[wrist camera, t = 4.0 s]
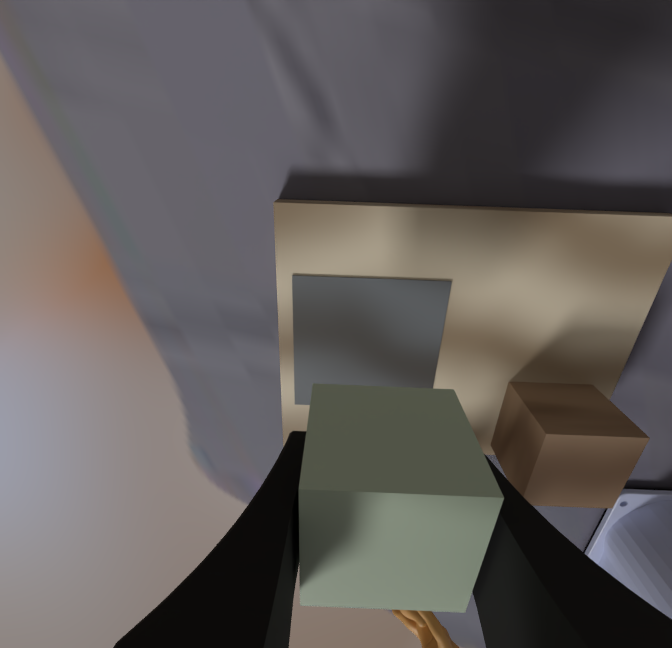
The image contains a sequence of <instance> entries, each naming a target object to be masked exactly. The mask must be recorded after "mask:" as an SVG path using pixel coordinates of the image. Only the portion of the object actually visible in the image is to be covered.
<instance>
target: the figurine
mask: <svg viewBox="0 0 672 648" xmlns="http://www.w3.org/2000/svg"><path fill="white" fill-rule="evenodd" d="M392 612H393V614H394V615H395V616H396V617H397V618H398V619H400V620H401V621H402V622H403V623H404V624H405V626H406V627H407V628H408V629H409V630H410V631H412V632H413V633H414V634H415V635H416V636H417V637H418V638H419V640H420V641H421V644H422V648H459V647H458V646H457V645H456V644H455V643H454V642H453V641H452V640H451V638H450V636H449V634H448V632H447V630H446V629H445V628H444V627H443V626H442V625H441V624H440V622H439V621H438V620H437V618H436V617H435V615H434V614H433V613H432V611H416V610H393V609H392Z"/></svg>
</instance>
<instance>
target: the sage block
mask: <svg viewBox="0 0 672 648" xmlns="http://www.w3.org/2000/svg"><path fill="white" fill-rule="evenodd" d="M503 500H504V496H503V494H502V492H501V490H500V488H499V486H498V483H497V481H496V479H495V477H494V475H493V473H492V471H491V468H490V466H489V464H488V462H487V460H486V458H485V455H484V453H483V451H482V449H481V447H480V445H479V443H478V440H477V438H476V436H475V434H474V432H473V430H472V427H471V425H470V423H469V421H468V419H467V417H466V414H465V412H464V410H463V408H462V406H461V404H460V402H459V399H458V397H457V395H456V393H455V391H454V389H434V388H410V387H386V386H362V385H338V384H314V383H313V386H312V393H311V401H310V408H309V416H308V423H307V430H306V438H305V445H304V453H303V460H302V468H301V475H300V482H299V563H300V564H299V565H300V605H301V606H326V607H347V608H371V609H372V608H373V609H393V610H416V611H439V612H463V613H465V611H466V608H467V605H468V602H469V599H470V597H471V594H472V591H473V588H474V585H475V582H476V579H477V576H478V573H479V570H480V567H481V564H482V561H483V559H484V556H485V553H486V550H487V547H488V544H489V541H490V538H491V535H492V532H493V529H494V526H495V523H496V520H497V518H498V515H499V512H500V509H501V506H502V503H503Z"/></svg>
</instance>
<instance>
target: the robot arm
mask: <svg viewBox="0 0 672 648" xmlns="http://www.w3.org/2000/svg"><path fill="white" fill-rule="evenodd" d="M305 438H306V431H292V432H291V433H290V434H289V436H288V439H287V441H286V443H285V445H284V447H283V449H282V451H281V453H280V455H279V457H278V459H277V461H276V463H275V464H274V466H273V468H272V469H271V471H270V473H269V474H268V476H267V478H266V479H265V481H264V483H263V484H262V486H261V487H260V489H259V490H258V492H257V493H256V495H255V496H254V497H253V499H252V500H251V502H250V503H249V505H248V506H247V508H246V509H245V510H244V512H243V513H242V514H241V516H240V517H239V518H238V520H237V521H236V523H235V524H234V525H233V526H232V527H231V528H230V530H229V531H228V532H227V534H226V535H225V536H224V537H223V538H222V539H221V541H220V542H219V543H218V544H217V546H216V547H215V548H214V549H213V550H212V551H211V552H210V553H209V554H208V556H207V557H206V558H205V559H204V560H203V561H202V562H201V563H200V564H199V565H198V566H197V568H196V569H195V570H194V571H193V572H192V573H191V574H190V575H189V576H188V577H187V578H186V579H185V580H184V581H183V582H182V583H181V584H180V585H179V586H178V587H177V588H176V589H175V590H174V591H173V592H172V593H171V594H170V595H169V596H168V597H167V598H166V599H165V600H163V601H162V602H161V603H160V604H159V605H158V606H157V607H156V608H155V609H154V610H153V611H152V612H151V613H149V614H148V615H147V616H146V617H145V618H144V619H143V620H141V621H140V622H139V623H138V624H137V625H136V626H135V627H134V628H133V629H131V630H130V631H129V632H128V633H127V634H126V635H125V636H123V637H122V638H121V639H120V640H119V641H118V642H117V643H116V644H115V646H114V647H113V648H288V646H289V637H290V626H291V616H292V607H293V597H294V590H295V583H296V577H297V572H298V566H299V482H300V475H301V468H302V460H303V453H304V445H305ZM484 455H485V454H484ZM485 458H486V460H487V462H488V464H489V466H490V468H491V471H492V473H493V475H494V477H495V479H496V481H497V483H498V486H499V488H500V490H501V492H502V494H503V496H504V500H503V503H502V506H501V509H500V512H499V515H498V518H497V520H496V523H495V526H494V529H493V532H492V535H491V538H490V541H489V544H488V547H487V550H486V553H485V556H484V559H483V561H482V564H481V567H480V570H479V573H478V576H477V579H476V582H475V585H474V588H473V591H472V592H473V595H474V599H475V602H476V606H477V610H478V614H479V618H480V623H481V627H482V631H483V636H484V640H485V644H486V648H672V491H666V490H640V489H623V490H622V491H621V493H620V495H619V497H618V499H617V501H616V503H615V505H614V506H613V508H608V509H607V511H606V513H605V515H604V517H603V519H602V521H601V523H600V525H599V526H598V528H597V530H596V532H595V534H594V536H593V538H592V540H591V542H590V544H589V546H588V547H587V549H586V551H585V553H583V552H582V551H581V550H580V549H579V548H577V547H576V546H575V545H574V544H573V543H572V542H570V541H569V540H568V539H567V538H566V537H565V536H564V535H562V534H561V533H560V532H559V531H558V530H557V529H556V528H555V527H554V526H553V525H551V524H550V523H549V522H548V521H547V520H546V519H545V518H544V517H543V516H542V515H541V514H540V513H539V512H538V511H537V510H536V509H535V508H534V507H533V506H532V505H531V504H530V503H529V502H528V501H527V500H526V499H525V498H524V497H523V496H522V495H521V494H520V493H519V492H518V491H517V490H516V488H515V487H514V486H513V485H512V484H511V483H510V482H509V481H508V480H507V479H506V478H505V477H504V475H503V474H502V473H501V472H500V471H499V470H498V469H497V468H496V467H495V465H494V464H493V463H492V462H491V461H490V460H489V459H488V457H487V456H486V455H485Z"/></svg>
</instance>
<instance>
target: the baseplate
mask: <svg viewBox="0 0 672 648" xmlns="http://www.w3.org/2000/svg"><path fill="white" fill-rule="evenodd" d="M274 227H275V252H276V276H277V301H278V326H279V350H280V375H281V399H282V424H283V447H284V445H285V443H286V441H287V439H288V436H289V434H290V433H291V432H292V431H306V430H307V423H308V416H309V408H310V401H311V393H312V386H313V383H314V384H338V385H362V386H386V387H410V388H434V389H454V391H455V393H456V395H457V397H458V399H459V402H460V404H461V406H462V408H463V410H464V412H465V414H466V417H467V419H468V421H469V423H470V425H471V427H472V430H473V432H474V434H475V436H476V438H477V440H478V443H479V445H480V447H481V449H482V451H483V453H484V454H487V455H495V453H494V451H493V449H492V447H491V441H492V438H493V434H494V431H495V427H496V424H497V420H498V417H499V413H500V410H501V406H502V403H503V399H504V396H505V392H506V389H507V385H508V382H509V381H510V382H536V383H562V384H589V385H594V386H595V387H596V388H597V389H598V390H599V391H600V392H601V393H602V394H603V395H604V396H605V397H606V398H607V399H609V400H610V398H611V396H612V393H613V391H614V389H615V387H616V384H617V382H618V380H619V378H620V375H621V373H622V371H623V369H624V366H625V364H626V362H627V360H628V357H629V355H630V353H631V350H632V348H633V346H634V344H635V341H636V339H637V337H638V335H639V332H640V330H641V328H642V326H643V323H644V321H645V319H646V317H647V314H648V312H649V310H650V307H651V305H652V303H653V301H654V298H655V296H656V294H657V292H658V289H659V287H660V285H661V283H662V280H663V278H664V276H665V274H666V271H667V269H668V267H669V265H670V262H671V260H672V214H670V213H650V212H622V211H594V210H566V209H539V208H511V207H483V206H456V205H428V204H400V203H373V202H345V201H317V200H289V199H277V200H276V201H275V202H274Z"/></svg>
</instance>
